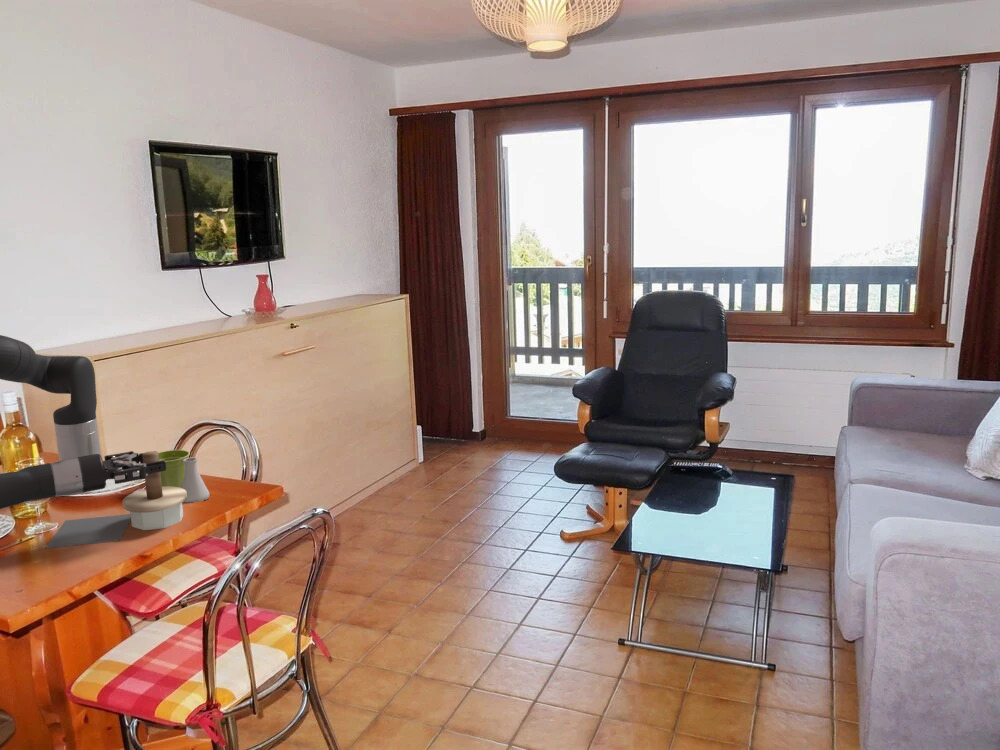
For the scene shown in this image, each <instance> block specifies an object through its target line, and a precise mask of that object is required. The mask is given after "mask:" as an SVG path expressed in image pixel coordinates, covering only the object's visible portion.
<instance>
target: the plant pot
mask: <svg viewBox="0 0 1000 750" xmlns="http://www.w3.org/2000/svg"><path fill="white" fill-rule="evenodd" d="M190 455H191V452H189V451H188V450H187V449H186V450H184V449H171V450H170V449H169V450H164V451H160V452H158V456H159V461H162V460H163V461H165V463H166V470H165V471H161V472H160V474H161V483H162V487H166V486H170V487H179V488H182V483H183V479H184V474H185V464H184V463H183V460H184V459H186V458H189V456H190Z"/></svg>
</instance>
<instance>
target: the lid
mask: <svg viewBox="0 0 1000 750" xmlns="http://www.w3.org/2000/svg"><path fill="white" fill-rule="evenodd" d="M142 453H143V454H142V458H143V463H145V464H146V463H151V462H156V461H159V456H158V453H159V452H158V451H156V450H152V451H146V452H142ZM144 483H145V489H140V490H138V491H135V492H132V493H130V494H128V495H126V496H125V497H124V498H123V499H122V508H123V509H124V510H125V511H128V512H130V511H131V512H155V511H161V510H165V509H169V508H172V507H175V506H177V505H179V504H181V503H182V504H183V503H185V502H184V501H185V500H186V499H187V492H186V490H184V489H183V488H179V487H170V486H166V487H162V483H161V474H160V472H156V473H150V474H148V475H147V476H146V478H145V479H144Z"/></svg>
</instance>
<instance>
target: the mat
mask: <svg viewBox="0 0 1000 750" xmlns="http://www.w3.org/2000/svg"><path fill="white" fill-rule="evenodd" d="M130 523H131V515H130V513H129V514H117V515H109V516H99V517H98V516H97V517H88V518H87V517H86V518H76V519H68V520H67V519H66V520H65V521H64V522H63V523H62V524H61V526H60V528H58V530H57V532H55V534H54V535H53V537H52V538H51V539H50V541H49V543H47V545H46V546H45V549H54V548H55V549H56V548H62V547H63V548H65V547H73V546H74V547H75V546H83V545H93V544H101V543H103V544H104V543H111V542H120V541H121V538H122V536H123V535H124V534H125V531H126V529H127V527H128V526H129V524H130Z"/></svg>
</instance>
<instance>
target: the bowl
mask: <svg viewBox="0 0 1000 750" xmlns="http://www.w3.org/2000/svg"><path fill="white" fill-rule="evenodd" d="M183 509H184V508H183V503H181V504H179V505H177V506H175V507H172V508H169V509H165V510H161V511H155V512H131V511H129V512H130V513H129V514H130V515H131V520H130V523H131V527H132V528H135V529H139V530H142V531H148V530H149V531H150V530H158V529H165V528H168V527H171V526H173V525H175V524H179V523H181V521H182V519H183V517H184V511H183Z"/></svg>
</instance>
